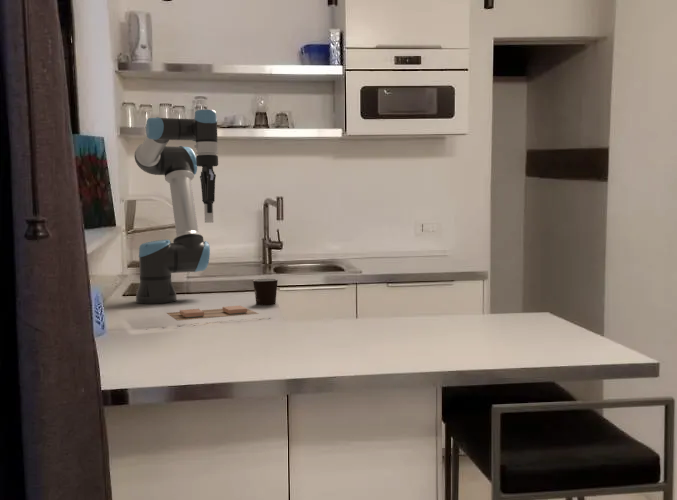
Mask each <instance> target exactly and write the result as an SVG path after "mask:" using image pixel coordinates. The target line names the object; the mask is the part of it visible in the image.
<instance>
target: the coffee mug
mask: <svg viewBox="0 0 677 500" xmlns="http://www.w3.org/2000/svg"><path fill="white" fill-rule="evenodd" d="M252 283H253V291H254V297H255V298H254V299H255V305H257V306H272V305H276V304H277V294H278V293H277V291H278V278H256V279H253V280H252Z"/></svg>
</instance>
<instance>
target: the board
mask: <svg viewBox="0 0 677 500" xmlns="http://www.w3.org/2000/svg"><path fill="white" fill-rule="evenodd" d="M200 310H201V311H203V312H204V316H203V317H192V318H185V317H184V316H182V315H181V314H180V311H177V312H175V311H174V312H166V314H168V315H169V316H170V317H172V319H174V320H176V321H186V320H188V321H189V320H199V319H211V318H212V319H213V318H220V317H222V318H223V317H237V316H246V315H247V316H248V315H258V314H259V313H258V312H256V311H254V310H251V309H249V308H247V312H246V313H241V314H228V313H226V312H224V311H223V308H213V309H212V308H211V309H200ZM253 319H257V318H253ZM241 320H244V319H241ZM230 321H233V319H231V320H230ZM218 322H222V320H221V321H218ZM207 323H210V322H206V324H207ZM195 324H196V325H197V324H198V322H197V323H195ZM183 325H186V323H184V324H183Z"/></svg>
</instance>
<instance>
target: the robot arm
mask: <svg viewBox="0 0 677 500" xmlns="http://www.w3.org/2000/svg"><path fill="white" fill-rule="evenodd" d="M145 133H146V137H145V138H144V141H143V143H141V144H139V145H138V146H137V148H136V149H135V152H134V162H135V163H136V165H137V166H138V168H140V169H141V170H142V171H143V172H145V173H147V174H149V175H155V176H156V175H157V176H164V179H165V181H166V182H167V183H169V188H170V189H169V190H170V197H171V198H170V199H171V205H172V213H173V219H174V220H173V221H174V226H175V233H176V234H175V235H176V236H175V237H174V238H173V242H171V240H170V239H160V240H159V239H158V240H151V241H147V242H144V243H141V244H140V245H139V247H138V258H139V259H138V260H139V285H138V287H137V288H138V289H137V292H136V294H135V302H136V303H137V304H143V303H145V304H146V305H147V304H148V305H149V304H150V305H153V304H156V305H157V304H167V303H172V302H176V301H177V299H178V298H177V293H176V290H175V287H174V284H173V282H172V274H179V273H197V272H203V271H205V270H206V269H208V267H209V262H210V255H211V253H210V252H211V248H210V243H209V241H206V240H204V236H203V234H201V233H199V228H198V227H199V226H198V220H197V214H196V213H197V212H196V208H195V202H194V201H195V199H194V194H193V193H194V192H193V187H192V180H193V179H194V178H195V175H197V172H198V167H202V170H201V171H200V176H199V179H200V187H201V198H202V199H201V200H202V203H203V209H204V210H203V211H204V223H206V224H207V223H210V224H211V223H214V203H215V198H216V197H215V195H216V194H215V193H216V192H215V190H216V177H217V176H216V174H215V171H214V167H217V166H219V156H218V155H217V154H219V142H218V115H217V112H216V110H214V109H197V110H195V113H194V118H177V117H176V118H173V117H158V116H157V117H149V118H147V119H146V123H145ZM170 140H172V141H174V140H175V141H192V142H195V144H194V148H195V151H194V150H193V149H192V148H191V147H189V146H184V145H183V146H182V145H179V146H172V145H171V146H168V145H167V144H168V143H169V141H170ZM166 145H167V146H166ZM195 152H196V153H195ZM145 304H144V305H145Z"/></svg>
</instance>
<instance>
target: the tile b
mask: <svg viewBox="0 0 677 500" xmlns="http://www.w3.org/2000/svg"><path fill="white" fill-rule="evenodd" d="M221 309H223V311H224V312H226V313H228V314H241V313H246V312H247V309H248V308H247V307H244V306H242V305H231V306H222V308H221Z"/></svg>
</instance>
